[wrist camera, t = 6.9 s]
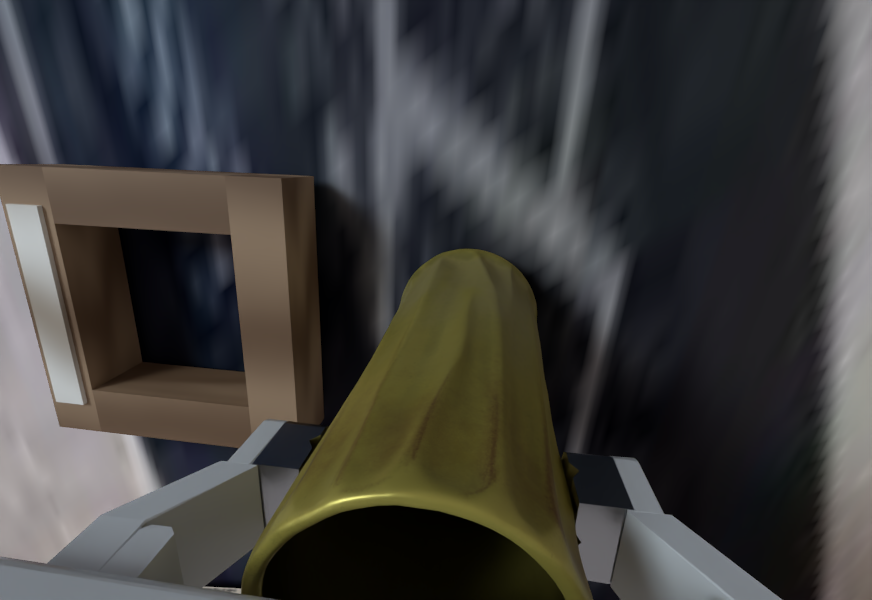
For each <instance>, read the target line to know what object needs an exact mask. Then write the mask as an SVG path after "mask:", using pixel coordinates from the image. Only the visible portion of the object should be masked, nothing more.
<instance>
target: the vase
mask: <svg viewBox="0 0 872 600" xmlns="http://www.w3.org/2000/svg"><path fill="white" fill-rule="evenodd" d="M241 594H246V595H252V596H259V597H265V598H272V599H278V600H593V597H592V594H591V591H590V588H589V585H588V581H587V578H586V575H585V572H584V568H583V564H582V561H581V557H580V552H579V547H578V543H577V536H576V528H575V520H574V514H573V508H572V503H571V498H570V494H569V489H568V485H567V481H566V478H565V474H564V470H563V467H562V463H561V459H560V456H559V452H558V448H557V444H556V439H555V434H554V429H553V424H552V418H551V412H550V405H549V398H548V392H547V387H546V382H545V377H544V371H543V361H542V353H541V346H540V340H539V334H538V327H537V305H536V300H535V297H534V294H533V291H532V289H531V287H530V285H529V283H528V282H527V280H526V278H525V277H524V276H523V274H522V273H521V272H520V271H519V270H518V269H517V268H516V267H515V266H514V265H513V264H511V263H510V262H508V261H507V260H505V259H503V258H502V257H500V256H498V255H495V254H493V253H490V252H487V251H483V250H478V249H458V250H452V251H447V252H443V253H441V254H439V255H437V256H435V257H433V258H432V259H430V260H429V261H428V262H426V263H425V264H423V265H422V266H421V267H420V268H419V269H417V271H416V272H415V273H414V274H413V275H412V277H411V278H410V280H409V281H408V283H407V285H406V288H405V290H404V292H403V295H402V297H401V303H400V306H399V308H398V311H397V312H396V314H395V316H394V318H393V319H392V321H391V323H390V325H389V327H388V329H387V331H386V333H385V335H384V336H383V338H382V340H381V342H380V344H379V346H378V348H377V349H376V351H375V353H374V355H373V357H372V359H371V360H370V362H369V364H368V365H367V367H366V369H365V370H364V372H363V374H362V375H361V377H360V379H359V380H358V382H357V384H356V385H355V387H354V388H353V390H352V391H351V393H350V394H349V396H348V398H347V399H346V401H345V402H344V404H343V406H342V407H341V409H340V410H339V412H338V414H337V415H336V417H335V418H334V420H333V422H332V423H331V425H330V426H329V428H328V429H327V431H326V433H325V434H324V436H323V437H322V439H321V441H320V442H319V444H318V445H317V447H316V448H315V450H314V451H313V453H312V454H311V456H310V457H309V459H308V460H307V462H306V463H305V465H304V466H303V468H302V469H301V471H300V473H299V474H298V476H297V477H296V479H295V481H294V482H293V484H292V485H291V487H290V489H289V490H288V492H287V494H286V495H285V497H284V499H283V500H282V502H281V503H280V505H279V507H278V508H277V510H276V512H275V513H274V515H273V516H272V518H271V519H270V521H269V522H268V524H267V526H266V527H265V529H264V530H263V532H262V534H261V536H260V537H259V539H258V541H257V543H256V544H255V547H254V549H253V551H252V553H251V555H250V557H249V560H248V562H247V564H246V567H245V570H244V574H243V577H242V582H241Z"/></svg>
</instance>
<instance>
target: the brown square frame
mask: <svg viewBox="0 0 872 600" xmlns="http://www.w3.org/2000/svg"><path fill="white" fill-rule="evenodd" d="M0 198H1V202H2V205H3V209H4V213H5V217H6V221H7V225H8V229H9V232H10V236H11V240H12V244H13V248H14V252H15V255H16V259H17V263H18V267H19V271H20V275H21V279H22V282H23V286H24V290H25V294H26V298H27V302H28V306H29V309H30V313H31V317H32V321H33V325H34V329H35V333H36V336H37V340H38V344H39V348H40V352H41V356H42V360H43V363H44V367H45V371H46V375H47V379H48V383H49V387H50V390H51V394H52V398H53V402H54V406H55V410H56V414H57V417H58V421H59V425H60V426H61V427H69V428H77V429H86V430H94V431H102V432H111V433H119V434H127V435H136V436H144V437H152V438H160V439H169V440H177V441H185V442H194V443H202V444H210V445H219V446H227V447H235V448H240V447H241V446H242V445H243V443H244V442H245V441H246V440H247V439H248V438H249V437H250V436H251V434H252V433H253V432H254V431H255V430H256V429H257V428H258V427H259V425H260V424H261V423H262V422H263V421H264V420H267V419H276V420H285V421H293V422H301V423H308V424H316V425H320V424H321V422H322V421H323V419H324V404H323V381H322V358H321V336H320V313H319V290H318V267H317V244H316V222H315V199H314V176H298V175H277V174H256V173H235V172H214V171H192V170H171V169H150V168H129V167H108V166H87V165H66V164H0ZM118 228H132V229H148V230H163V231H179V232H195V233H210V234H226V235H231V242H232V251H233V261H234V271H235V280H236V290H237V299H238V309H239V319H240V328H241V338H242V347H243V357H244V367H245V372H238V371H228V370H218V369H208V368H198V367H188V366H178V365H169V364H159V363H149V362H142V357H141V351H140V346H139V340H138V335H137V329H136V324H135V318H134V313H133V307H132V302H131V296H130V291H129V286H128V280H127V275H126V269H125V264H124V258H123V253H122V247H121V242H120V236H119V231H118Z"/></svg>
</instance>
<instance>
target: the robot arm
mask: <svg viewBox="0 0 872 600" xmlns="http://www.w3.org/2000/svg"><path fill="white" fill-rule="evenodd" d="M328 428H329V426H323V425H316V424H308V423H301V422H293V421H285V420H276V419H267V420H264V421H263V422H262V423H261V424H260V425H259V427H258V428H257V429H256V430H255V431H254V432H253V433H252V434H251V436H250V437H249V438H248V439H247V440H246V441H245V442H244V443H243V445H242V446H241V447H240V448H239V449H238V450H237V451H236V452H235V454H234V455H233V456H232V457H231V458H230V459H229V460H228V461H227V462H226V461H220V462H217V463H215V464H213V465H211V466H209V467H206V468H204V469H202V470H200V471H197V472H195V473H193V474H191V475H189V476H186V477H184V478H182V479H180V480H178V481H175V482H173V483H171V484H169V485H166V486H164V487H162V488H160V489H158V490H155V491H153V492H151V493H149V494H147V495H144V496H142V497H140V498H138V499H135V500H133V501H131V502H129V503H127V504H124V505H122V506H120V507H118V508H116V509H113V510H111V511H109V512H107V513H104V514H102V515H100V516H99V517H98V518H97V519H96V520H95V521H94V522H93V523H92V524H90V525H89V526H88V527H87V528H86V529H85V530H84V531H83V532H82V533H80V534H79V535H78V536H77V537H76V538H75V539H74V540H73V541H72V542H70V543H69V544H68V545H67V546H66V547H65V548H64V549H63V550H62V551H60V552H59V553H58V554H57V555H56V556H55V557H54V558H53V559H52V560H50V561H49V562H48V563H47V564H45V563H38V562H32V561H25V560H19V559H12V558H6V557H0V600H278V599H272V598H265V597H259V596H252V595H246V594H239V593H233V592H226V591H220V590H213V589H207V588H203V587H204V586H205V585H207V584H208V583H209V582H210V581H212V580H213V579H214V578H216V577H217V576H218V575H219V574H221V573H222V572H223V571H225V570H226V569H227V568H228V567H230V566H231V565H232V564H234V563H235V562H236V561H237V560H239V559H240V558H241V557H242V556H244V555H245V554H246V553H248V552H249V551H250V550H251V549H253V548H254V547H255V544H256V543H257V541H258V539H259V537H260V536H261V534H262V532H263V530H264V529H265V527H266V526H267V524H268V522H269V521H270V519H271V518H272V516H273V515H274V513H275V512H276V510H277V508H278V507H279V505H280V503H281V502H282V500H283V499H284V497H285V495H286V494H287V492H288V490H289V489H290V487H291V485H292V484H293V482H294V481H295V479H296V477H297V476H298V474H299V473H300V471H301V469H302V468H303V466H304V465H305V463H306V462H307V460H308V459H309V457H310V456H311V454H312V453H313V451H314V450H315V448H316V447H317V445H318V444H319V442H320V441H321V439H322V437H323V436H324V434H325V433H326V431H327V429H328ZM561 463H562V467H563V470H564V474H565V478H566V481H567V485H568V489H569V494H570V498H571V503H572V508H573V514H574V520H575V528H576V536H577V543H578V547H579V552H580V557H581V561H582V564H583V568H584V572H585V575H586V578H587V580H589V581H595V582H601V583H607V584H611V588H612V589H613V590H614V591H615V593H616V594H617V595H618V596H619V598H620V599H621V600H782V599H781V598H779V597H778V596H777V595H775V594H774V593H773V592H771V591H770V590H769V589H768V588H766V587H765V586H764V585H762V584H761V583H760V582H758V581H757V580H756V579H754V578H753V577H752V576H751V575H749V574H748V573H747V572H745V571H744V570H743V569H741V568H740V567H739V566H738V565H736V564H735V563H734V562H732V561H731V560H730V559H728V558H727V557H726V556H724V555H723V554H722V553H721V552H719V551H718V550H717V549H715V548H714V547H713V546H711V545H710V544H709V543H708V542H706V541H705V540H704V539H702V538H701V537H700V536H698V535H697V534H696V533H694V532H693V531H692V530H691V529H689V528H688V527H687V526H685V525H684V524H683V523H681V522H680V521H679V520H678V519H676V518H675V517H674V516H672V515H667V514H664V513H663V510H662V508H661V506H660V504H659V502H658V500H657V498H656V496H655V494H654V492H653V490H652V488H651V486H650V484H649V482H648V480H647V478H646V476H645V474H644V472H643V470H642V468H641V466H640V464H639V462H638V461H637V460H636V459H635V458H629V457H616V456H610V457H608V456H598V455H588V454H578V453H567V452H564V453H563V456H562V459H561Z"/></svg>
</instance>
